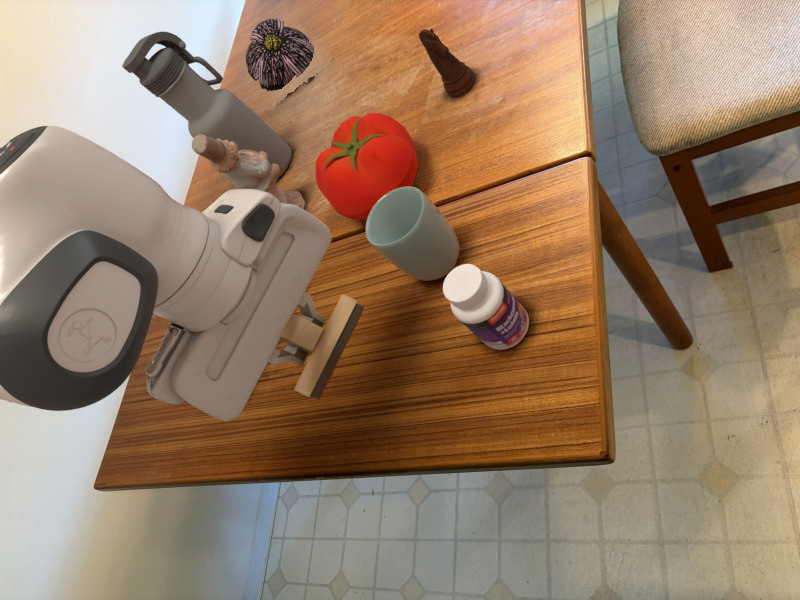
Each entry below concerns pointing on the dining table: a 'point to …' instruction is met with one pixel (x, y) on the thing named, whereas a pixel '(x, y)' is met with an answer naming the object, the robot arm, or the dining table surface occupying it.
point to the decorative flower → (277, 54)
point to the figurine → (244, 167)
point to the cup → (413, 234)
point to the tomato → (365, 163)
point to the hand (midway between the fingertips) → (310, 341)
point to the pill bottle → (485, 306)
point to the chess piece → (447, 65)
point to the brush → (322, 344)
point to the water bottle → (202, 98)
